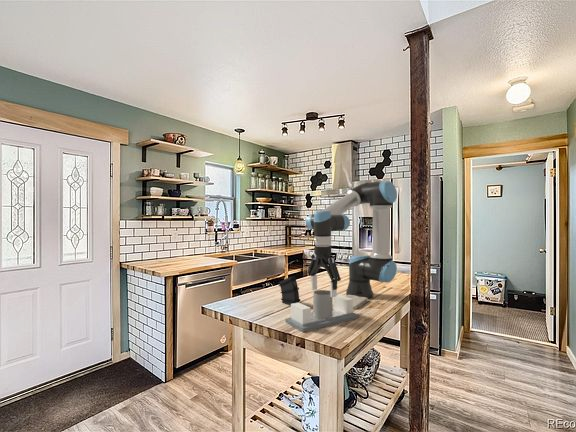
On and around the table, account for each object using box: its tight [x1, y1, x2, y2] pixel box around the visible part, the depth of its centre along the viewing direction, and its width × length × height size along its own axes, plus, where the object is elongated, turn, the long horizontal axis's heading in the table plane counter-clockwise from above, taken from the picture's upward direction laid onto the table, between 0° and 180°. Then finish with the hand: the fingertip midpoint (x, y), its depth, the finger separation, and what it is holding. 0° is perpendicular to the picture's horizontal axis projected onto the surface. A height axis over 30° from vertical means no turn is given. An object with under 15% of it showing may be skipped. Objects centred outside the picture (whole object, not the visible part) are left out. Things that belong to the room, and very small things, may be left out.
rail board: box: [285, 312, 360, 333], centre depth 133 cm, size 31×13×2 cm, turn 122°
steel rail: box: [290, 307, 354, 326], centre depth 133 cm, size 28×9×1 cm, turn 122°
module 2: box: [332, 294, 354, 314], centre depth 140 cm, size 4×9×6 cm, turn 32°
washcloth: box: [344, 295, 369, 310], centre depth 158 cm, size 12×18×3 cm, turn 146°
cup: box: [312, 289, 333, 318], centre depth 133 cm, size 8×8×10 cm
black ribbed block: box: [278, 275, 301, 307], centre depth 156 cm, size 4×13×15 cm, turn 40°
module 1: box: [290, 302, 312, 324], centre depth 127 cm, size 4×9×6 cm, turn 32°
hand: (323, 293), depth 133 cm, fingers open, 13 cm apart
